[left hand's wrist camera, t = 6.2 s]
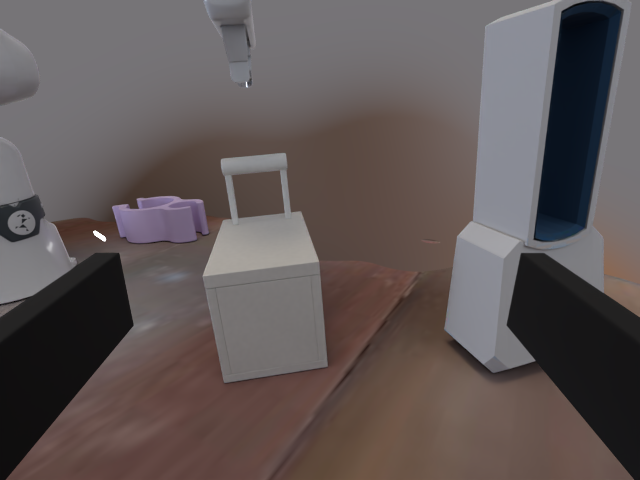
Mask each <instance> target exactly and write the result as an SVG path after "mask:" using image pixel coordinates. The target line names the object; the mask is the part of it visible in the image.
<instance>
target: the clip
mask: <svg viewBox="0 0 640 480" xmlns="http://www.w3.org/2000/svg"><path fill="white" fill-rule="evenodd" d="M137 202H138V206H139V209H130V208H129V205H128V204H126V205H117V206H113V211H114V215H115V218H116V222H117V226H118V230H119V233H120V237H126V238H127V241H129V242H132V243H149V242H156V241H171V242H176V243H180V242H189V241H194V240H197V236H196V232H201V233H202V235H206V234H209V231H208V225H207V220H206V215H205V209H204V204H203V201H202V200H197V199H192V200H182V199H180V198H179V197H175V196H163V197H153V198H147V199H143V198H139V199H137Z"/></svg>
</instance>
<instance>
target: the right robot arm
mask: <svg viewBox="0 0 640 480" xmlns="http://www.w3.org/2000/svg"><path fill="white" fill-rule="evenodd" d="M203 1H204V4H205V7H206V10H207V13H208V16H209V18H210V19H211V21H212V22H213V24H214V26H215V27H216V29H217V31H218V32H219V34H220V36H221V37H222V39H223V42H224V46H225V50H226V54H227V58H228V61H229V68H230V74H231V79H232V80H233V81H234V82H236V83H238V85H239V87H241V88H247V87H251V86H252V85H253V79H252V70H251V53H250V50H253V49H255V47H256V41H255V32H254V24H253V15H252V0H203ZM39 83H40V73H39V68H38V65H37V62H36V60H35V58H34V56H33V55H32V53H31V52H30V50H29V49H28V48H27V47H26V46H25V45H24V44H23V43H22V42H20V41H19V40H17V39H16V38H14V37H12V36H11V35H9V34H8V33H6V32H5V31H4V30H2V29H1V28H0V106H2V105H7V104H11V103H15V102H19V101H23V100H26V99H29V98H31V97H32V96H34V94H35V93H36V92H37V90H38V87H39ZM44 216H45V213H44V210H43V205H42V202H41V201H40V199H39V196H38V195H36V194H34V191H33V188H32V185H31V182H30V179H29V176H28V173H27V170H26V167H25V165H24V162H23V159H22V156H21V153H20V151H19V150H18V148H17V147H16V146H15V145H14V144H13V143H11V142H10V141H8V140H7V139H4V138H2V137H0V304H3V303H7V302H12V301H16V300H20V299H23V298H26V297H30V296H33V295H34V294H36V293H37V292H39V291H40V290H42V289H43V288H45V287H46V286H48V285H49V284H51V283H52V282H53V281H55V280H56V279H58V278H59V277H61V276H62V275H64V274H65V273H67V272H68V271H70V270H71V269H73V267H74V266H76V265H77V263H78V262H77V260H76V258H69V256H68V253H67V251H66V249H65V246H64V244H63V242H62V239H61V237H60V235H59V233H58V231H57V228H56V226H55V225H54V224H52V223H50V222H48V221H46V220H45V219H44V218H43V217H44ZM94 234H95V235H96V236H97V237H99V238H100V239H102V240H103V241H106V239H105V237H104V236H102V235H101V234H99V233H98V232H96V231H94Z"/></svg>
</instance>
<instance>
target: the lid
mask: <svg viewBox="0 0 640 480" xmlns="http://www.w3.org/2000/svg"><path fill="white" fill-rule="evenodd" d="M221 167H222V172H223V175H224V176H225V180H226V186H227V192H228V198H229V204H230V210H231V216H232V219H229V220H223V222H222V225H221V228H220V231H219V233H218V236H217V239H216V241H215V244H214V247H213V250H212V252H211V255H210V258H209V260H208V263H207V266H206V269H205V271H204V274H203V280H204V285H205V289H209V288H217V287H224V286H232V285H240V284H247V283H255V282H263V281H271V280H278V279H286V278H294V277H301V276H309V275H317V274H320V267H319V260H318V257H317V255H316V252H315V249H314V247H313V244H312V241H311V238H310V235H309V233H308V230H307V227H306V224H305V222H304V219H303V216H302V213H301V212H292V213H291V211H290V201H289V192H288V183H287V173H286V170H287V159H286V154H285V153H279V154H269V155H258V156H247V157H237V158H226V159H221ZM277 170H280V173H281V182H282V191H283V200H284V209H285V213H283V214H274V215H265V216H257V217H247V218H238V214H237V208H236V201H235V195H234V188H233V182H232V176H231V175H236V174H247V173H256V172H267V171H277Z"/></svg>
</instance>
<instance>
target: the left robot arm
mask: <svg viewBox="0 0 640 480" xmlns="http://www.w3.org/2000/svg"><path fill="white" fill-rule="evenodd" d="M133 326H134V325H133V320H132V315H131V310H130V305H129V300H128V295H127V290H126V285H125V280H124V275H123V270H122V265H121V260H120V255H119V253H95V254H93V255H92V256H90V257H89V258H87V259H86V260H84V261H83V262H82V263H80V264H79V265H77V266H76V267H74V268H73V269H71V270H70V271H68V272H67V273H65V274H64V275H62V276H61V277H59V278H58V279H56V280H55V281H53V282H52V283H51V284H49V285H48V286H46V287H45V288H43V289H42V290H40V291H39V292H37V293H36V294H34V295H33V296H31V297H30V298H28V299H27V300H25V301H24V302H22V303H21V304H20V305H18V306H17V307H15V308H14V309H12V310H11V311H9V312H8V313H6V314H5V315H3V316H2V317H0V480H6V479H7V477H8V476H9V475H10V474H11V472H12V471H13V470H14V469H15V468H16V466H17V465H18V464H19V463H20V462H21V460H22V459H23V458H24V457H25V456H26V454H27V453H28V452H29V451H30V450H31V448H32V447H33V446H34V445H35V444H36V442H37V441H38V440H39V439H40V438H41V436H42V435H43V434H44V433H45V432H46V430H47V429H48V428H49V427H50V426H51V424H52V423H53V422H54V421H55V420H56V418H57V417H58V416H59V415H60V413H61V412H62V411H63V410H64V409H65V407H66V406H67V405H68V404H69V403H70V401H71V400H72V399H73V398H74V397H75V395H76V394H77V393H78V392H79V391H80V389H81V388H82V387H83V386H84V385H85V383H86V382H87V381H88V380H89V379H90V377H91V376H92V375H93V374H94V373H95V371H96V370H97V369H98V368H99V367H100V365H101V364H102V363H103V362H104V360H105V359H106V358H107V357H108V356H109V354H110V353H111V352H112V351H113V350H114V348H115V347H116V346H117V345H118V344H119V342H120V341H121V340H122V339H123V338H124V336H125V335H126V334H127V333H128V332H129V330H130V329H131V328H132V327H133ZM506 326H507V327H508V328H509V329H510V330H511V332H512V333H513V334H514V335H515V336H516V338H517V339H518V340H519V341H520V342H521V344H522V345H523V346H524V347H525V348H526V350H527V351H528V352H529V353H530V354H531V356H532V357H533V358H534V359H535V360H536V362H537V363H538V364H539V365H540V367H541V368H542V369H543V370H544V371H545V373H546V374H547V375H548V376H549V377H550V379H551V380H552V381H553V382H554V383H555V385H556V386H557V387H558V388H559V389H560V391H561V392H562V393H563V394H564V395H565V397H566V398H567V399H568V400H569V401H570V403H571V404H572V405H573V406H574V407H575V409H576V410H577V411H578V412H579V413H580V415H581V416H582V417H583V418H584V420H585V421H586V422H587V423H588V424H589V426H590V427H591V428H592V429H593V430H594V432H595V433H596V434H597V435H598V436H599V438H600V439H601V440H602V441H603V442H604V444H605V445H606V446H607V447H608V448H609V450H610V451H611V452H612V453H613V454H614V456H615V457H616V458H617V459H618V460H619V462H620V463H621V464H622V465H623V466H624V468H625V469H626V470H627V471H628V472H629V474H630V475H631V476H632V477H633V479H634V480H640V317H638V316H637V315H635V314H634V313H632V312H631V311H629V310H628V309H626V308H625V307H623V306H622V305H620V304H619V303H618V302H616V301H615V300H613V299H612V298H610V297H609V296H607V295H606V294H604V293H603V292H601V291H600V290H598V289H597V288H595V287H594V286H592V285H591V284H589V283H588V282H587V281H585V280H584V279H582V278H581V277H579V276H578V275H576V274H575V273H573V272H572V271H570V270H569V269H567V268H566V267H564V266H563V265H561V264H560V263H558V262H557V261H556V260H554V259H553V258H551V257H550V256H548V255H547V254H545V253H521V255H520V260H519V265H518V270H517V275H516V280H515V285H514V290H513V295H512V300H511V305H510V310H509V315H508V320H507V325H506Z"/></svg>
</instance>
